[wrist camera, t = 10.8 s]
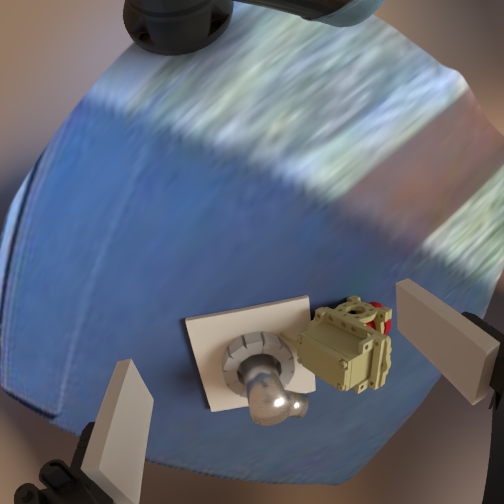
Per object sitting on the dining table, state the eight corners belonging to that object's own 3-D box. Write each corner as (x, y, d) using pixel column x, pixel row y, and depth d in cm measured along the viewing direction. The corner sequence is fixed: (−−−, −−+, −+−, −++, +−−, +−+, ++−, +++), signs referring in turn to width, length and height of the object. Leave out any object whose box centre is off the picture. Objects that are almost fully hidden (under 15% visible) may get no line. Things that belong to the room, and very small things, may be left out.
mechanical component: (348, 318, 57) (439, 357, 40) (271, 352, 48) (366, 418, 32) (349, 278, 55) (448, 311, 38) (268, 308, 46) (374, 367, 30)
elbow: (235, 369, 47) (244, 422, 36) (247, 343, 46) (259, 394, 35) (279, 379, 49) (298, 430, 37) (292, 355, 48) (315, 403, 36)
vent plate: (185, 317, 45) (183, 330, 41) (306, 294, 47) (315, 305, 43) (211, 408, 50) (212, 423, 46) (313, 387, 51) (320, 401, 48)
